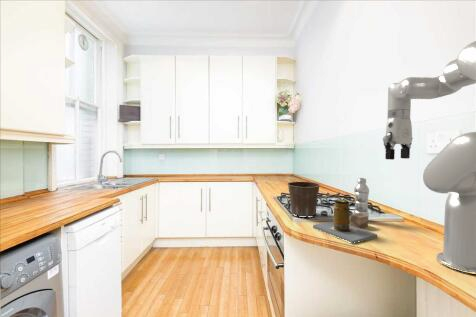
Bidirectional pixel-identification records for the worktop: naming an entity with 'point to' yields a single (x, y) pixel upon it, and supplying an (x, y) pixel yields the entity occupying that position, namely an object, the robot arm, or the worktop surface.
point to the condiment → (342, 217)
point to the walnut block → (359, 220)
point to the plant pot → (303, 198)
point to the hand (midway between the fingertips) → (397, 158)
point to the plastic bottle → (361, 197)
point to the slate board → (351, 237)
